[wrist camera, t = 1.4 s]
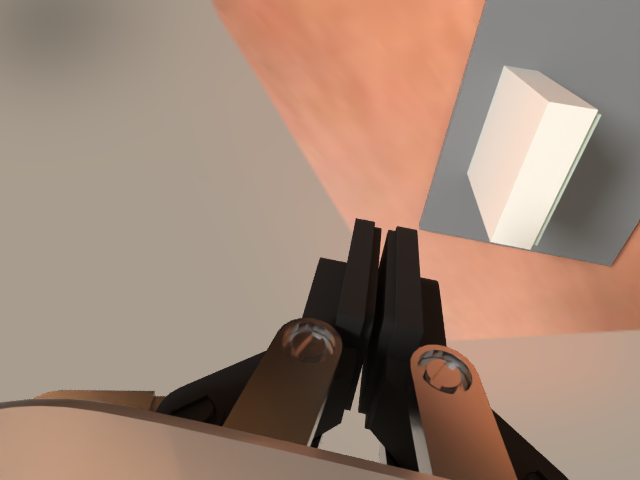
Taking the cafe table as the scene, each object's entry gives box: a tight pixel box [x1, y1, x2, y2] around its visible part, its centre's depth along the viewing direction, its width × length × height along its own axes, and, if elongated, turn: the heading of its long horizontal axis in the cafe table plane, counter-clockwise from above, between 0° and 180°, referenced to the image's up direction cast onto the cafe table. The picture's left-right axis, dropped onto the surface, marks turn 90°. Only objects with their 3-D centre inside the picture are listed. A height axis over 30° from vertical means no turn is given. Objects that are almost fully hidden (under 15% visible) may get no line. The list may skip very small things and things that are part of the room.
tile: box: [467, 66, 601, 250], centre depth 23 cm, size 2×7×9 cm, turn 172°
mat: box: [419, 0, 640, 266], centre depth 27 cm, size 14×17×1 cm
